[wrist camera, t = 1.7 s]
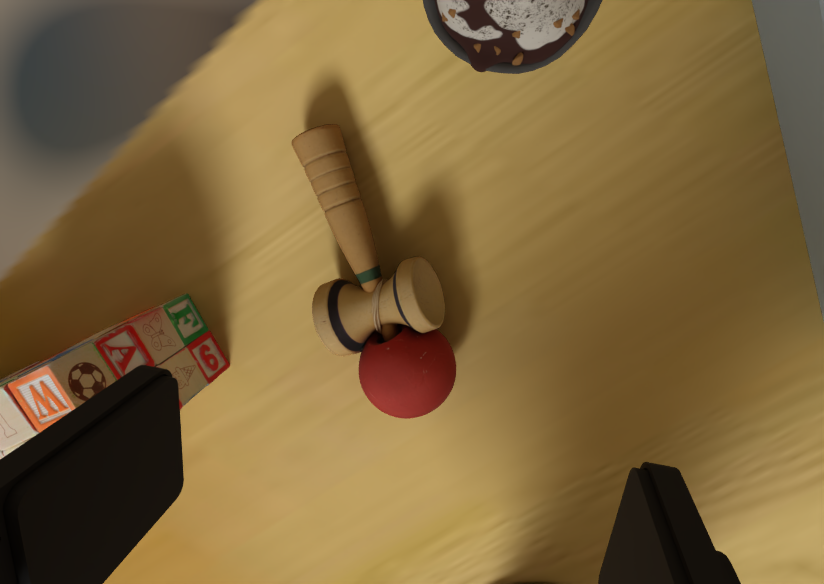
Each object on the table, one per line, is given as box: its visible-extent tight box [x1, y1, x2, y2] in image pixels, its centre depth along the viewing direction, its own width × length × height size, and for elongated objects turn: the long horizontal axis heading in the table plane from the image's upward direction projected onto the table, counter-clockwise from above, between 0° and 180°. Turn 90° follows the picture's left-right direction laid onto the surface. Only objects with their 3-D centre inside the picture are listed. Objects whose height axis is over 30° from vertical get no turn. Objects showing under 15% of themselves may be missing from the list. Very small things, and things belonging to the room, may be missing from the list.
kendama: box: [292, 124, 456, 418], centre depth 32 cm, size 8×6×18 cm
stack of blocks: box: [0, 293, 230, 459], centre depth 35 cm, size 21×6×12 cm, turn 116°
